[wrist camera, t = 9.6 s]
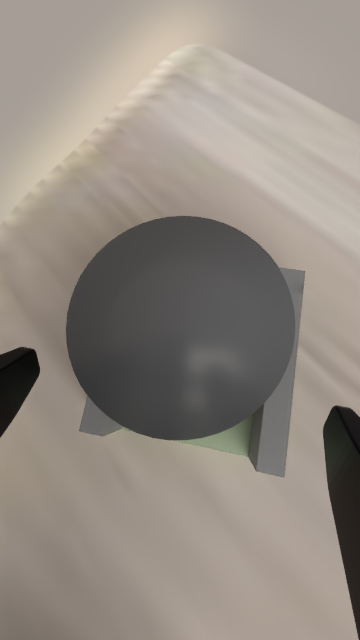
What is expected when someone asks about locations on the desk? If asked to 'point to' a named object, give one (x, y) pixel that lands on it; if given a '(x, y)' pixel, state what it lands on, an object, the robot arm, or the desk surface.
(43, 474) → the desk surface
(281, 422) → the tray
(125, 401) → the gray capsule
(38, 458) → the desk surface
